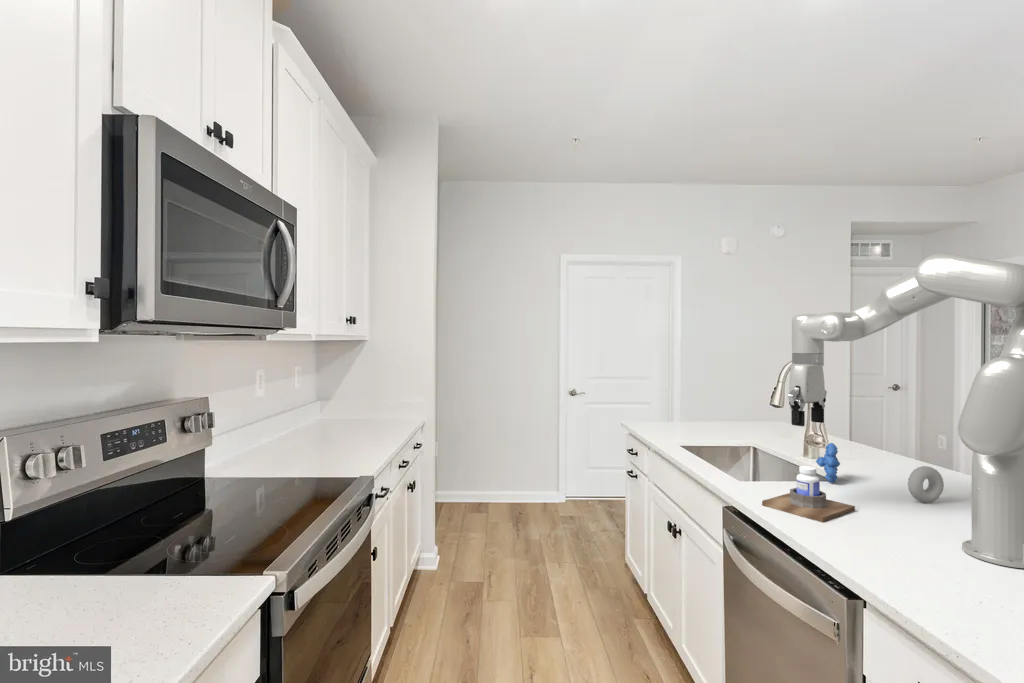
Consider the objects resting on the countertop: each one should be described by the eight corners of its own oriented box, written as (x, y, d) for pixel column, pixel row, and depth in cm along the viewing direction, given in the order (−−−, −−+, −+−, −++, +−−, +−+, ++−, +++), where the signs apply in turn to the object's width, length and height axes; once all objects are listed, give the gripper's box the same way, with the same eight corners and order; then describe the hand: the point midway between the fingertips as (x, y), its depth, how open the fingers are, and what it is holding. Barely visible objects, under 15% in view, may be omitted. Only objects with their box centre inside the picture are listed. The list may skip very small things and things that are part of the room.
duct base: (854, 510, 139) (854, 494, 139) (822, 522, 131) (822, 505, 131) (794, 495, 153) (794, 481, 153) (762, 505, 144) (762, 489, 144)
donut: (935, 499, 149) (935, 464, 149) (947, 503, 145) (947, 466, 145) (904, 501, 147) (904, 465, 147) (915, 505, 144) (915, 468, 144)
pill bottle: (815, 501, 144) (814, 465, 144) (823, 507, 138) (823, 470, 138) (793, 500, 145) (793, 464, 145) (800, 506, 139) (800, 469, 139)
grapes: (816, 475, 175) (816, 439, 175) (840, 478, 171) (840, 441, 171) (814, 483, 165) (814, 445, 165) (840, 487, 161) (840, 447, 161)
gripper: (810, 359, 150) (810, 419, 150) (776, 360, 141) (776, 425, 141) (838, 359, 144) (839, 422, 144) (804, 361, 134) (804, 429, 134)
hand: (807, 423), depth 142 cm, fingers open, 9 cm apart
